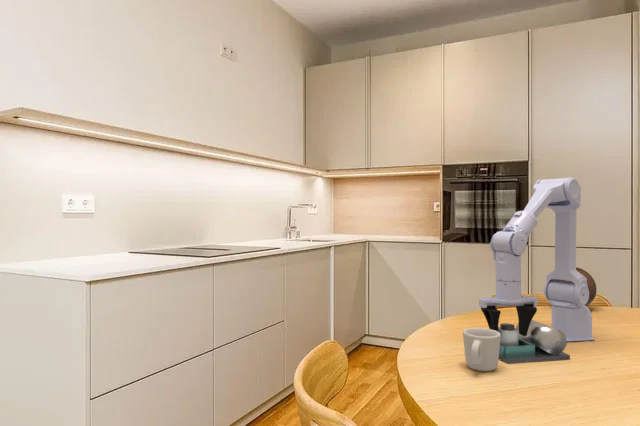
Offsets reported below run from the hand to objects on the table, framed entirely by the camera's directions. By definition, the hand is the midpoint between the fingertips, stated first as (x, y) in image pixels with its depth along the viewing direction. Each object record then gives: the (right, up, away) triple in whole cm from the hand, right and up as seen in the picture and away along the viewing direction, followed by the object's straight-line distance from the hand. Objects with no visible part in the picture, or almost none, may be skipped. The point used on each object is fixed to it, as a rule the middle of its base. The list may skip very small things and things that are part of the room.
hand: (508, 335), depth 110 cm
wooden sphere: (+44, -4, +51) cm, 67 cm away
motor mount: (+3, -4, +1) cm, 6 cm away
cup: (-11, -5, -11) cm, 16 cm away
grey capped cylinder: (0, -3, 0) cm, 3 cm away
